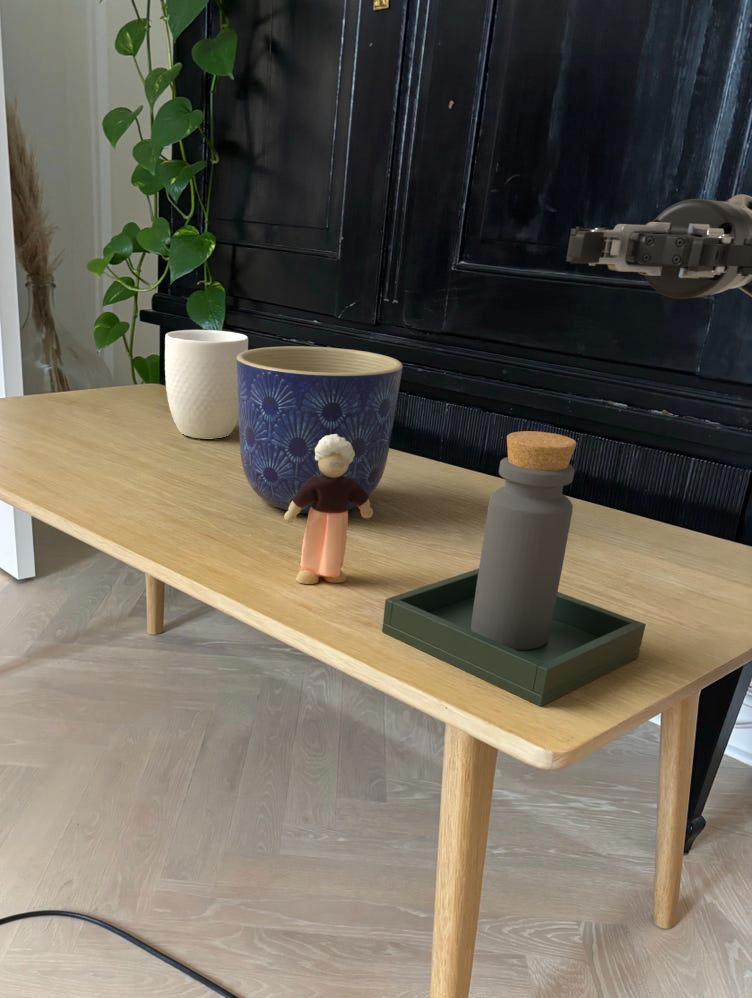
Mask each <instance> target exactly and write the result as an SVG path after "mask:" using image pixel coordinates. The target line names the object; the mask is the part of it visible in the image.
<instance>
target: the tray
mask: <svg viewBox="0 0 752 998" xmlns="http://www.w3.org/2000/svg"><path fill="white" fill-rule="evenodd" d="M478 572H479V567H478V568H476V569H472V570H469V571H467V572H464V573H461V574H457V575H454V576H451V577H449V578H446V579H442V580H439V581H437V582H433V583H430V584H427V585H423V586H421V587H418V588H415V589H412V590H409V591H406V592H402V593H400V594H397V595H394V596H391V597H388V598H385V601H384V608H383V609H384V610H383V619H382V620H383V621H382V622H383V623H382V627H381V628H382V629H381V632H382V633H383V634H386V635H388V636H389V637H392V638H394V639H397V640H399V641H400V642H403V643H405V644H407V645H409V646H411V647H413V648H415V649H418V650H420V651H422V652H424V653H426V654H428V655H430V656H432V657H435V658H437V659H439V660H441V661H443V662H445V663H447V664H449V665H452V666H453V667H456V668H458V669H460V670H462V671H464V672H466V673H469V674H471V675H473V676H475V677H477V678H478V679H481V680H483V681H485V682H488V683H489V684H492V685H494V686H496V687H498V688H500V689H503V690H504V691H507V692H509V693H511V694H513V695H515V696H517V697H520V698H521V699H524V700H526V701H527V702H530V703H532V704H535V705H537V706H538V707H543V706H544V705H547V704H549V703H551V702H553V701H554V700H556V699H559V698H561V697H563V696H564V695H566V694H569V693H570V692H572V691H574V690H576V689H578V688H581V687H583V686H584V685H587V684H588V683H591V682H592V681H594V680H596V679H598V678H600V677H602V676H604V675H606V674H609V673H610V672H612V671H615V670H616V669H618V668H620V667H622V666H624V665H625V664H628V663H630V662H632V661H634V660H636V659H638V658H639V655H640V650H641V646H642V643H643V637H644V634H645V629H646V625H647V624H646V623H644V622H641V621H639V620H636V619H633V618H631V617H628V616H625V615H622V614H619V613H617V612H614V611H611V610H609V609H606V608H603V607H600V606H597V605H596V604H592V603H590V602H586V601H584V600H581V599H579V598H577V597H574V596H571V595H568V594H565V593H562V592H559V591H558V592H557V597H556V603H555V608H554V613H553V618H552V623H551V629H550V633H549V637H548V641H547V642H546V644H545V645H543V646H541V647H539V648H535V649H529V650H514V649H512V648H509V647H507V646H505V645H502V644H500V643H498V642H496V641H493V640H491V639H489V638H486V637H484V636H482V635H479V634H477V633H475V632H472V631H471V622H472V614H473V607H474V600H475V593H476V586H477V579H478Z"/></svg>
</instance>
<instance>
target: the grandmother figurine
mask: <svg viewBox="0 0 752 998" xmlns="http://www.w3.org/2000/svg"><path fill="white" fill-rule="evenodd" d="M315 455H316V456H315V460H316V461H318V466H319V469H320V471H321V472H322V473H323V474H321V475H317V476H313V477H311V478H310V479H309V480H308V481H307V482H306V483H305V484H304V485H303V486H302V488H301V489H300V490H299V491H298V492H297V493H296V495H295V496H294V497H293V499H292V502H291V504H290V506H289V508H288V511H287V510H286V512H285V513H284V515H283V519H284V521H285V522H287V523H290V524H291V523H294V522H295V521H296V519H297V515H298V514H300V513H299V512H300V510H301V509H302V507H304V506H306V505H309V504H311V508H310V511H309V514H307V518H306V525H305V529H304V534H303V540H302V546H301V556H300V557H301V558H300V563H299V566H300V570H299V572H298V573H297V576H296V578H295V581H297V583H299V584H303V585H313V584H314V585H315V584H317V583H319V580H320V578H319V576H322V578H323V580H324V581H325V582H328V583H333V584H338V583H344V582H346V581H347V577H346V574H345V573H344V572H343V571H342V568H343V566H344V562H345V553H346V546H347V536H348V535H347V533H348V524H349V523H348V522H349V510H347V502H349V503H352V504H355V505H357V506H356V507H358V509H359V510H360V514H361V517H362V518H363V519H370V518H371V517H373V515H374V510H373V508H372V507H371V503H370V499H369V497H370V496H369V495H368V493H367V492H366V491H365V490H364V488H363V487H362V486H361V485H360V484H359V483H357V482H356V481H354V480H352V479H351V478H348V477H345V476H342V475H343V474H344V473H345V472H346V471H347V469H348V466H349V464H350V463H351V462H352V461H353V458H354V456H355V452H354V450H353V448H352V445H351V443H350V442H348V441H346V440H345V438H342V437H339V436H338V434H333V435H328V436H325V437H323V438H322V439H321V440H320V441H319V443H318V445H317V446H316V448H315Z"/></svg>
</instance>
